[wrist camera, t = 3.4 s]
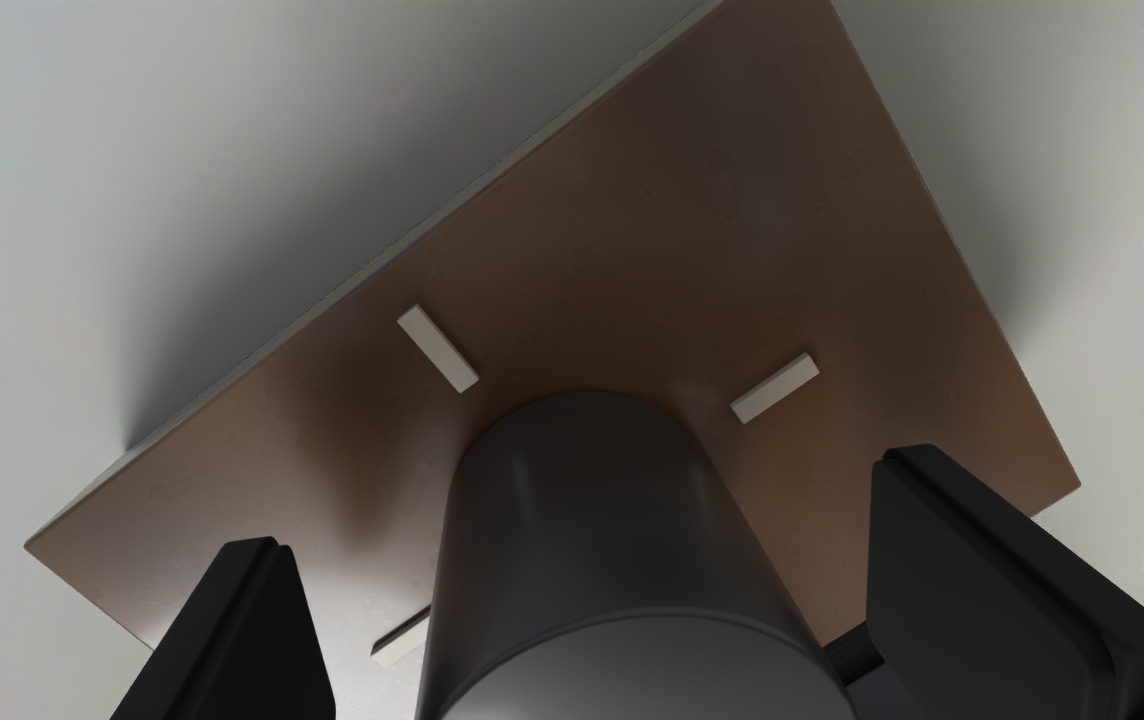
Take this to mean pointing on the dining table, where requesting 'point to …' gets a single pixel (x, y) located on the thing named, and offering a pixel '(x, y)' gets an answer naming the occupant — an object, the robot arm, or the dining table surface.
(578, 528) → the dial
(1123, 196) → the dining table surface
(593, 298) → the dial panel
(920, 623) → the robot arm
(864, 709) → the black button base
